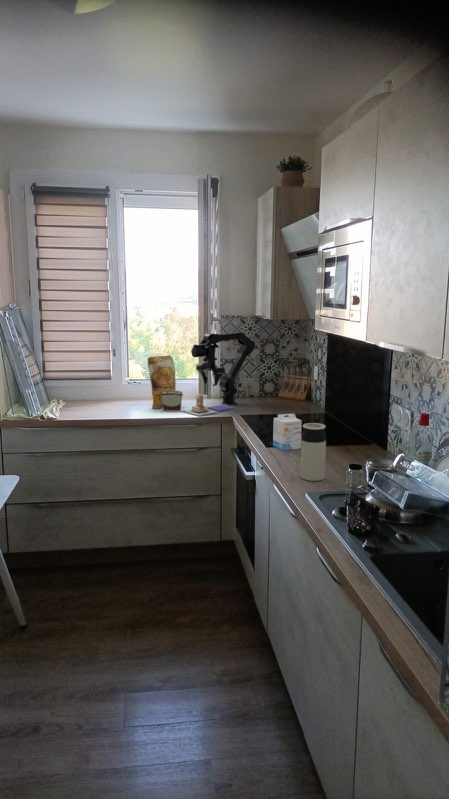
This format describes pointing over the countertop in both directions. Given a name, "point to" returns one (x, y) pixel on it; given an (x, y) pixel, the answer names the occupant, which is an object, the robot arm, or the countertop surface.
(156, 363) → the pancake mix bag
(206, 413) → the marked board
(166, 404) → the food container
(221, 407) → the ink pad
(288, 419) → the ink box
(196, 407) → the stamp
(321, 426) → the travel mug
